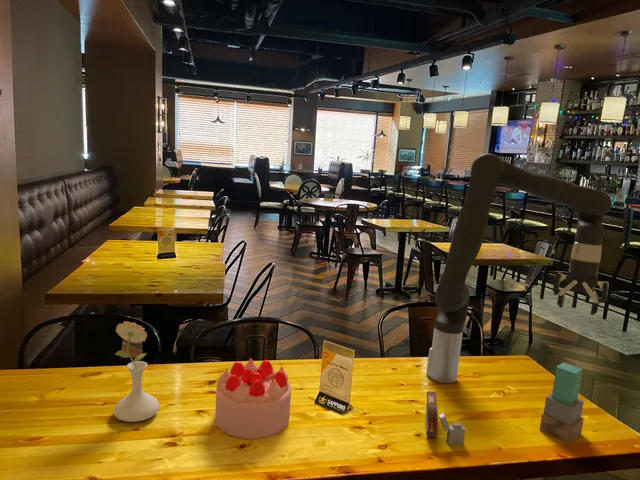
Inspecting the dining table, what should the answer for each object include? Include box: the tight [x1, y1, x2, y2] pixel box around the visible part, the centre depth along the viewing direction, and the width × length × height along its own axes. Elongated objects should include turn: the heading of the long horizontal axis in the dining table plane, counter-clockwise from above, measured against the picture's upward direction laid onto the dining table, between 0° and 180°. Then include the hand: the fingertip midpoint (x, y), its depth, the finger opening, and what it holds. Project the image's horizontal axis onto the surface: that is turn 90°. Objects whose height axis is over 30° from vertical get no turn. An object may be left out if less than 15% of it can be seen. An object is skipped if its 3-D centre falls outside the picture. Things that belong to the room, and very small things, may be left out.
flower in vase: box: [113, 321, 161, 423], centre depth 120 cm, size 13×11×25 cm
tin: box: [425, 390, 439, 438], centre depth 125 cm, size 15×3×8 cm, turn 168°
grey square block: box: [543, 393, 584, 425], centre depth 127 cm, size 7×7×5 cm
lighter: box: [438, 412, 466, 446], centre depth 118 cm, size 7×2×8 cm, turn 98°
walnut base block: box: [539, 412, 585, 445], centre depth 128 cm, size 8×8×5 cm
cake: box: [214, 357, 292, 441], centre depth 123 cm, size 20×20×14 cm
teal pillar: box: [551, 362, 584, 405], centre depth 126 cm, size 5×5×9 cm
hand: (576, 310), depth 139 cm, fingers open, 8 cm apart
